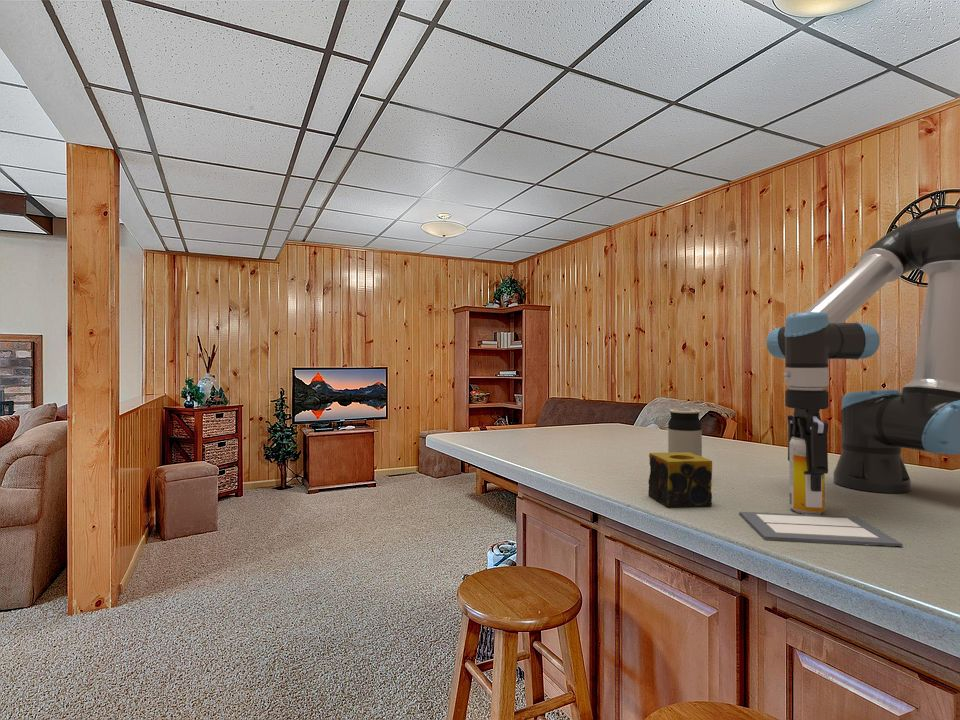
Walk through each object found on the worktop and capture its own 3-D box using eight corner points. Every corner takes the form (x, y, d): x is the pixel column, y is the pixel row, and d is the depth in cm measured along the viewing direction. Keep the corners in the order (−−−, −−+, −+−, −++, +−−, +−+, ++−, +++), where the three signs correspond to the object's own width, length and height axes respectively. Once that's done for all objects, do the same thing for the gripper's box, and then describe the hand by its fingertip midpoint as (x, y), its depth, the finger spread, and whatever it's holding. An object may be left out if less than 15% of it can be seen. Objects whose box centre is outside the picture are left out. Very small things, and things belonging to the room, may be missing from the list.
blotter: (856, 519, 103) (856, 515, 103) (902, 547, 88) (902, 542, 88) (739, 514, 107) (739, 510, 107) (764, 539, 92) (764, 535, 92)
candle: (647, 496, 121) (647, 452, 121) (690, 495, 122) (690, 451, 122) (666, 509, 111) (666, 461, 111) (713, 507, 112) (713, 460, 112)
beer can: (830, 516, 105) (829, 440, 105) (796, 515, 106) (795, 439, 106) (817, 508, 111) (816, 436, 111) (785, 506, 112) (784, 435, 112)
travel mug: (667, 482, 134) (667, 410, 134) (669, 475, 142) (668, 408, 142) (701, 484, 131) (701, 411, 131) (701, 478, 139) (701, 409, 139)
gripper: (770, 386, 118) (770, 490, 118) (805, 391, 100) (805, 515, 100) (807, 386, 117) (807, 491, 117) (849, 391, 98) (850, 517, 98)
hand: (806, 502), depth 108 cm, fingers closed on beer can, 6 cm apart
